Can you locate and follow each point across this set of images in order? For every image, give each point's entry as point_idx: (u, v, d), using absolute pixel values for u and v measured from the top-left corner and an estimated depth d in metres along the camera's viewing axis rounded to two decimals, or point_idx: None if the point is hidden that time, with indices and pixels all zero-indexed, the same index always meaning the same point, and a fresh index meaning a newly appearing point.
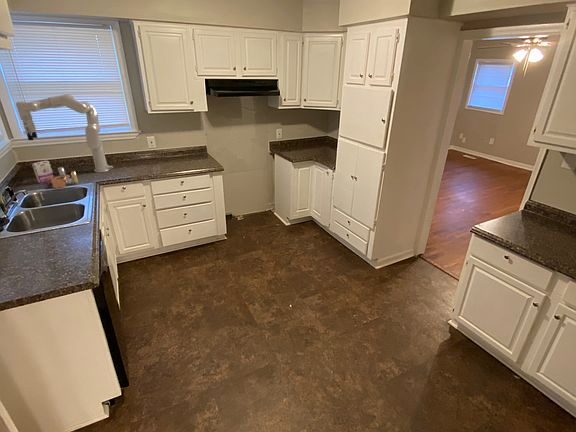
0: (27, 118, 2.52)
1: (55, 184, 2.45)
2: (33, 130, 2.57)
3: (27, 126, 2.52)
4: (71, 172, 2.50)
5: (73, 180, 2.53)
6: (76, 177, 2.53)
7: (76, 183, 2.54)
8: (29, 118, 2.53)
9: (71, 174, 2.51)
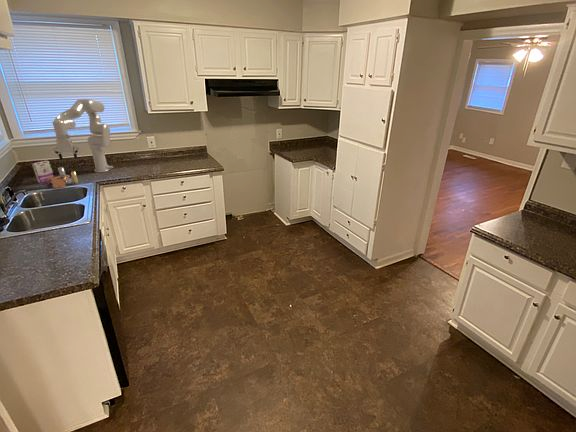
0: None
1: (55, 184, 2.45)
2: None
3: (72, 144, 2.44)
4: (71, 172, 2.50)
5: (73, 180, 2.53)
6: (76, 177, 2.53)
7: (76, 183, 2.54)
8: None
9: (71, 174, 2.51)
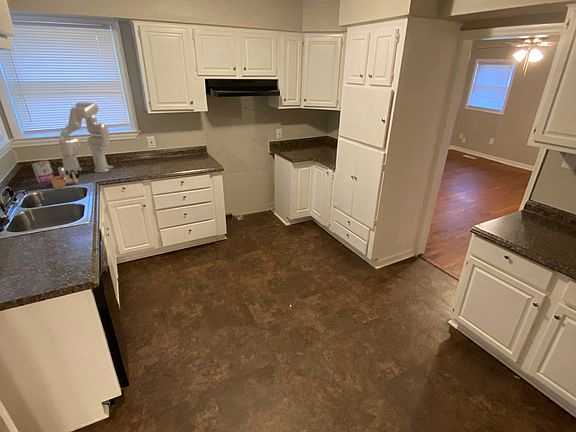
0: None
1: (55, 184, 2.45)
2: None
3: (78, 164, 2.51)
4: (71, 172, 2.50)
5: (73, 180, 2.53)
6: None
7: (76, 183, 2.54)
8: None
9: (71, 174, 2.51)
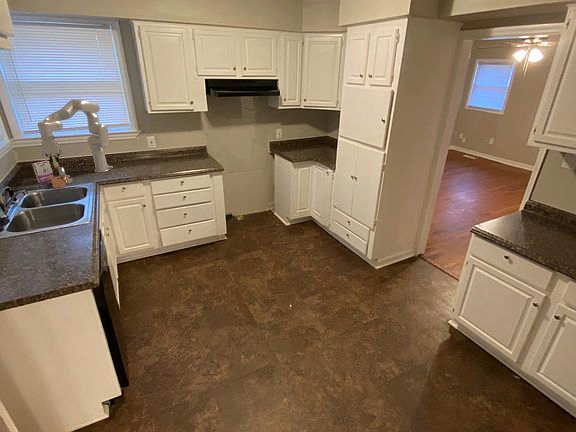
0: None
1: (55, 184, 2.45)
2: None
3: (58, 147, 2.42)
4: (51, 155, 2.41)
5: (53, 164, 2.43)
6: (56, 161, 2.44)
7: (56, 167, 2.45)
8: None
9: None
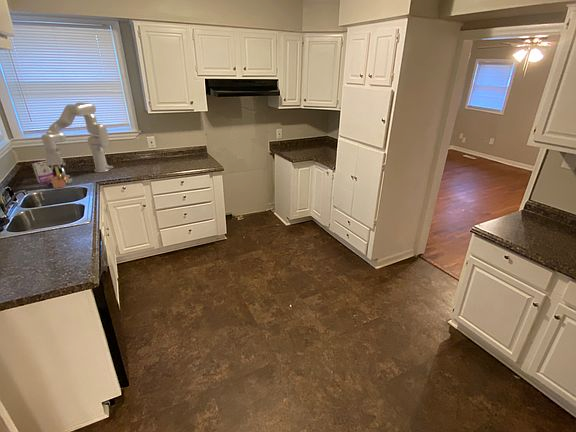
0: None
1: (55, 184, 2.45)
2: None
3: (62, 158, 2.45)
4: (54, 167, 2.44)
5: None
6: None
7: (60, 178, 2.48)
8: None
9: None
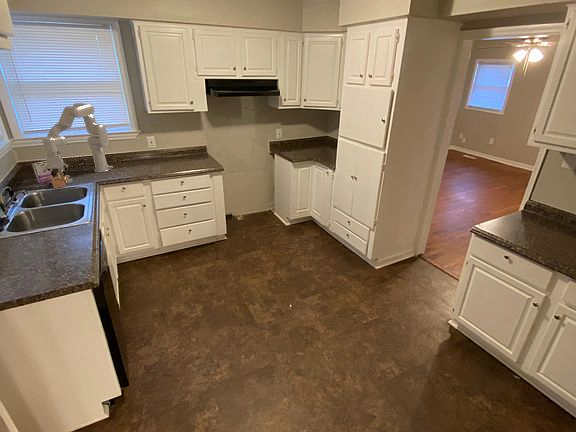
0: None
1: (55, 184, 2.45)
2: None
3: (63, 161, 2.46)
4: (56, 173, 2.47)
5: None
6: (62, 178, 2.50)
7: None
8: None
9: None
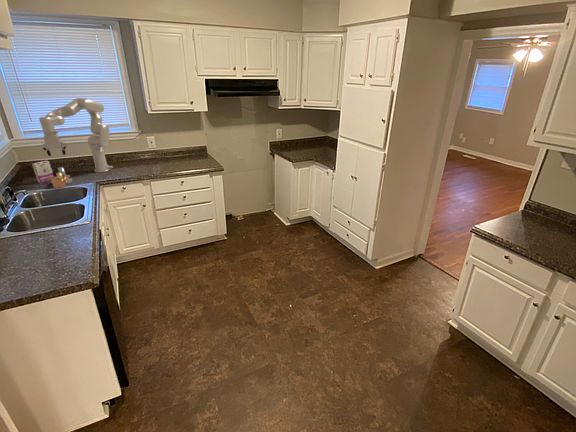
0: None
1: (55, 184, 2.45)
2: None
3: (60, 140, 2.44)
4: (56, 173, 2.47)
5: None
6: (62, 178, 2.50)
7: None
8: None
9: None
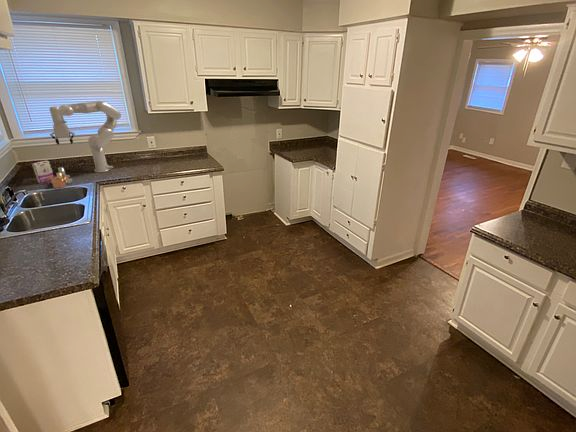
0: None
1: (55, 184, 2.45)
2: None
3: (68, 130, 2.57)
4: (56, 173, 2.47)
5: None
6: (62, 178, 2.50)
7: None
8: None
9: None
